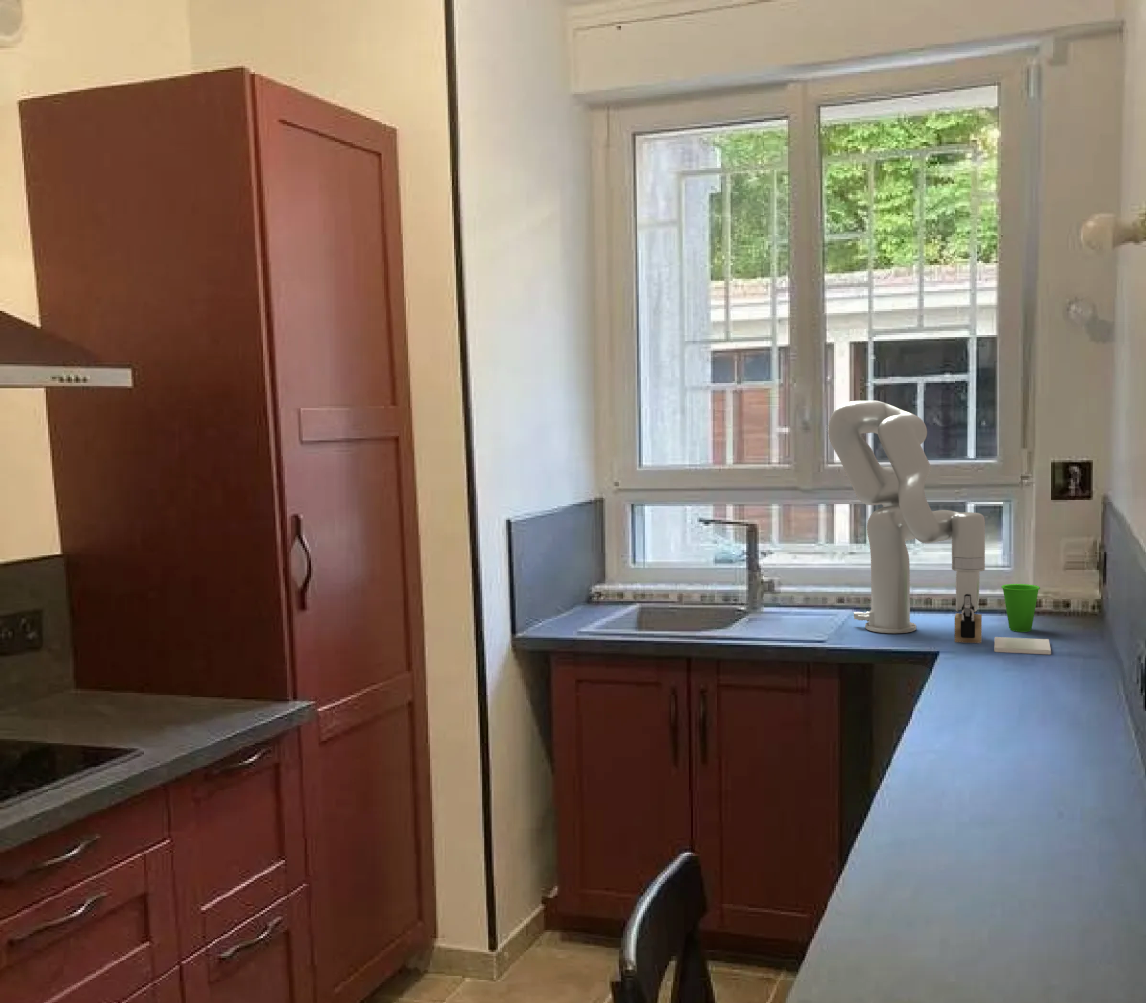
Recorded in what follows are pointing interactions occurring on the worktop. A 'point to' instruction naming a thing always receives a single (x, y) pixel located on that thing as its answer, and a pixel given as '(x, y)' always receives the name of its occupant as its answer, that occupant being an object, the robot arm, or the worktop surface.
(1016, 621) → the cup
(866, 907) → the worktop surface
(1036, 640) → the panel
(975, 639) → the block
